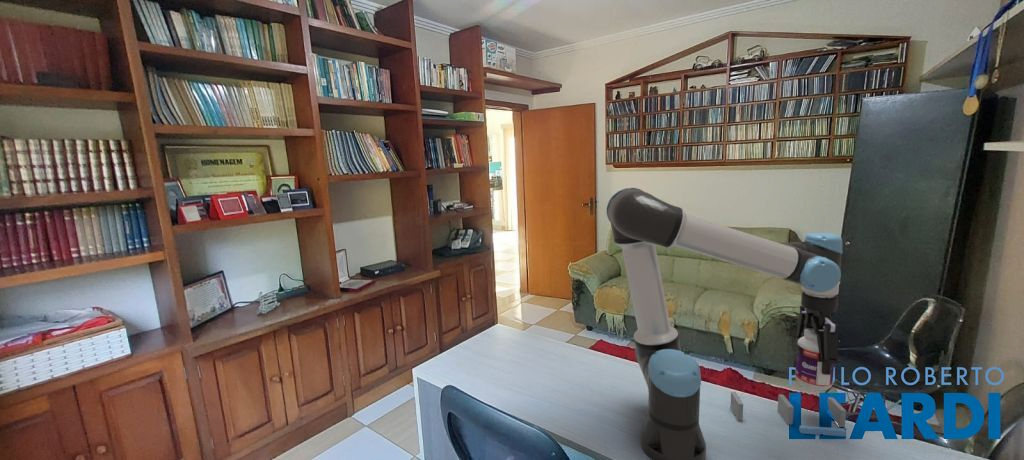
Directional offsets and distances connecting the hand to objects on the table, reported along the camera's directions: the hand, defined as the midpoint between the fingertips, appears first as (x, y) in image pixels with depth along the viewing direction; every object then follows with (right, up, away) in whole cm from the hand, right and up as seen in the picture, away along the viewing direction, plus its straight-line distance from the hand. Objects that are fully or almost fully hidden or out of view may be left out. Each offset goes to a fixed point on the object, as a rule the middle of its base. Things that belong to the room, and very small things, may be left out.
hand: (813, 375), depth 108 cm
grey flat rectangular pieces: (-6, -13, +2) cm, 14 cm away
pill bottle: (0, -2, 0) cm, 2 cm away
